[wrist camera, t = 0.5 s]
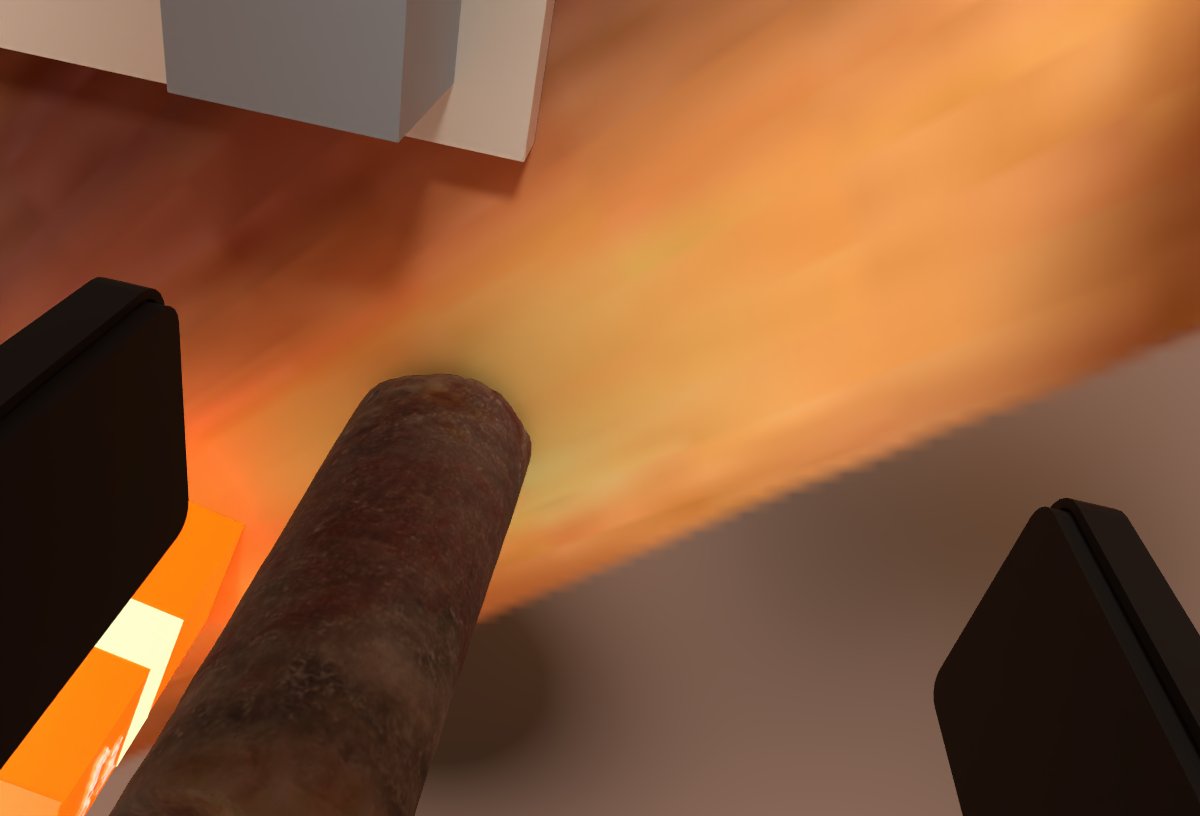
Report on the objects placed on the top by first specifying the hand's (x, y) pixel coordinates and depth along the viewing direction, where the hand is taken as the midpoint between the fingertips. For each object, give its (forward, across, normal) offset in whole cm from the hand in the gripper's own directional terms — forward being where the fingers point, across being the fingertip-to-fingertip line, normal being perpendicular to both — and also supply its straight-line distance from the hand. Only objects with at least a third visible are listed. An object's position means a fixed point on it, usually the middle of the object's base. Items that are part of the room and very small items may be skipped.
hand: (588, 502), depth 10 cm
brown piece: (+24, +6, +16) cm, 29 cm away
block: (+21, +9, -1) cm, 23 cm away
